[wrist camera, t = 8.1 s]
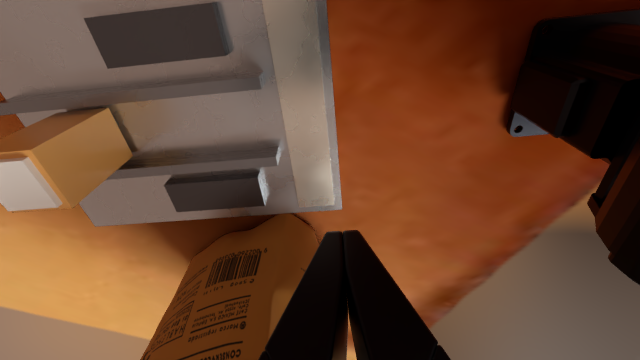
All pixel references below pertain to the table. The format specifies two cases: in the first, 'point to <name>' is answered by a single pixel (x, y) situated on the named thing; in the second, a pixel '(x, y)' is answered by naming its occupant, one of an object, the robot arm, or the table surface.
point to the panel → (186, 100)
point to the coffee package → (235, 293)
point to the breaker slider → (60, 160)
